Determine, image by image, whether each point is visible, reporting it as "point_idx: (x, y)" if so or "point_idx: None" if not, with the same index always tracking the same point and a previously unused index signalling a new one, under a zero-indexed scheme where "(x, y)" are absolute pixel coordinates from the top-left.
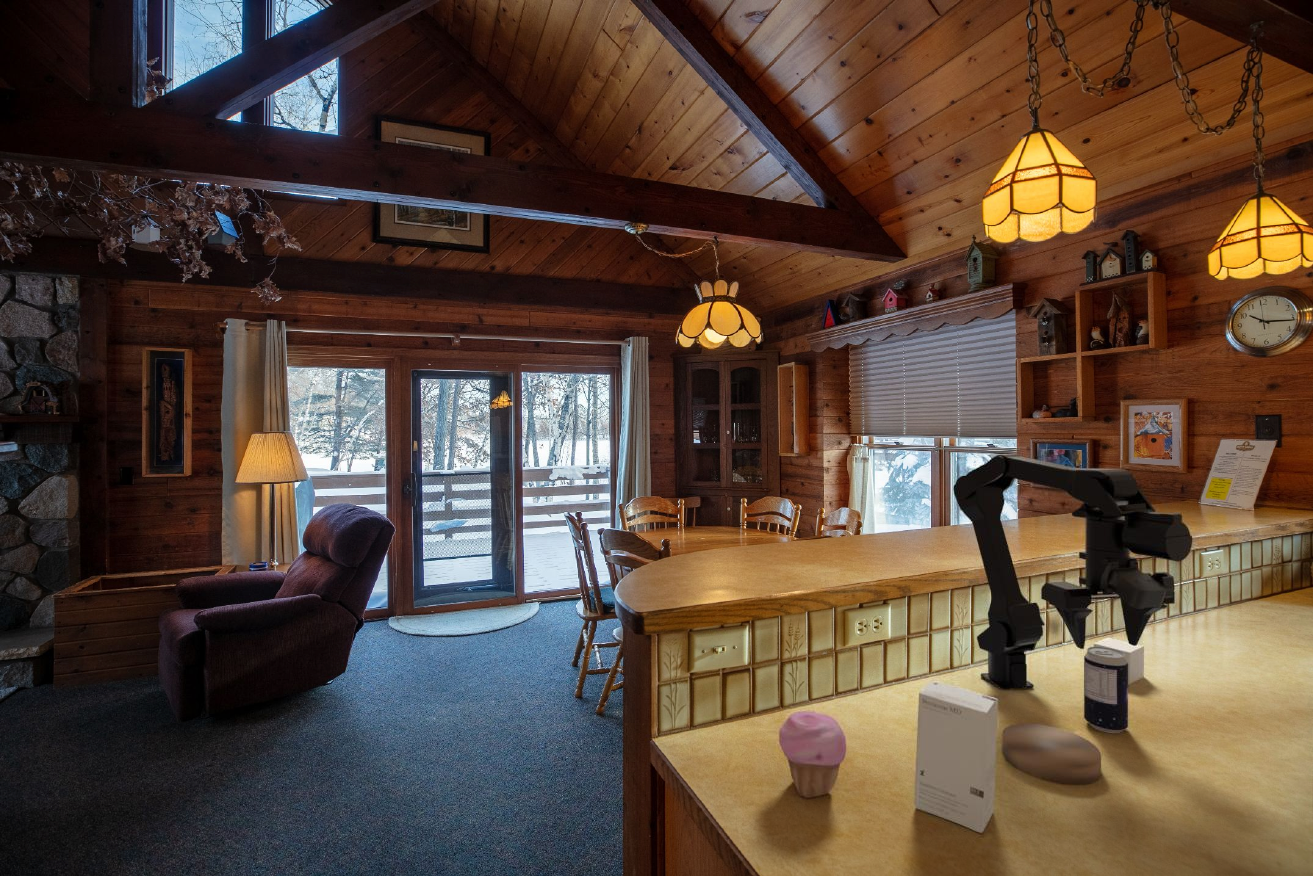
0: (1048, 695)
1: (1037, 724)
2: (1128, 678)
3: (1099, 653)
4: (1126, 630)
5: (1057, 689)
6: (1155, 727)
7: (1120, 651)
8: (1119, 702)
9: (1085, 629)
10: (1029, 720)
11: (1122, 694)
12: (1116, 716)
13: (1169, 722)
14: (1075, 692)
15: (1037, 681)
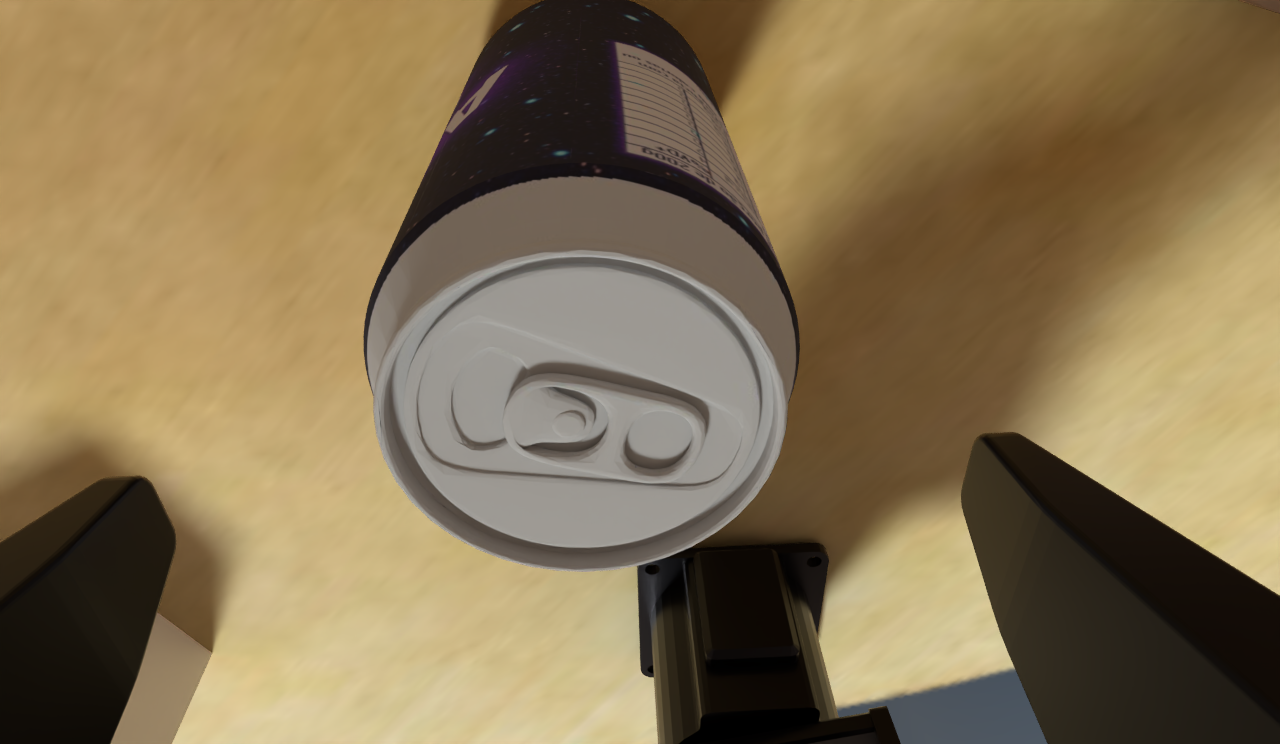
0: None
1: (1272, 3)
2: None
3: (693, 409)
4: (106, 727)
5: None
6: (254, 73)
7: None
8: (592, 42)
9: (1217, 655)
10: (981, 241)
11: (560, 61)
12: (614, 19)
13: (110, 129)
14: None
15: (561, 606)
